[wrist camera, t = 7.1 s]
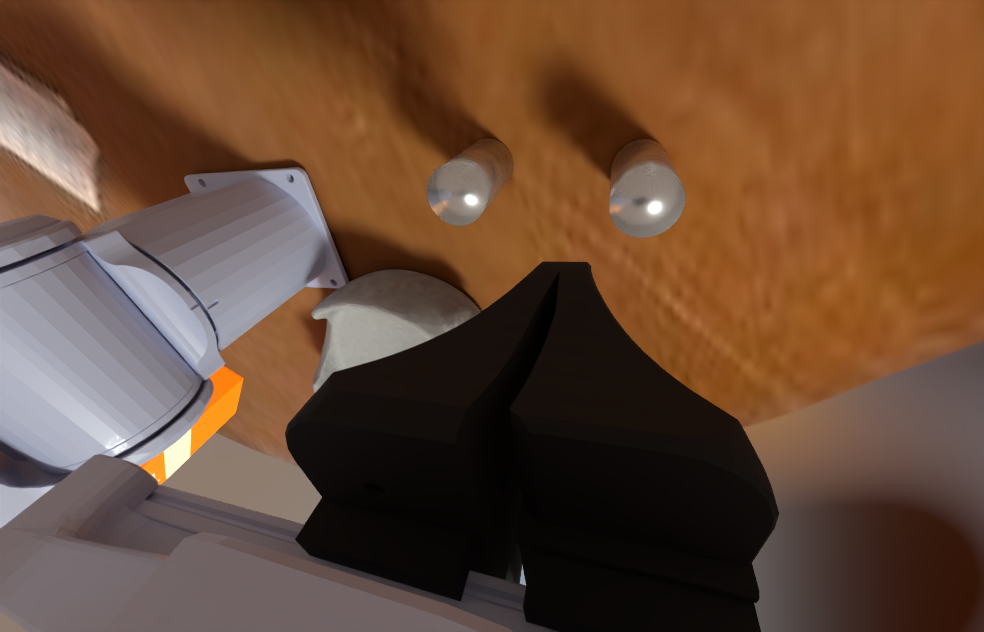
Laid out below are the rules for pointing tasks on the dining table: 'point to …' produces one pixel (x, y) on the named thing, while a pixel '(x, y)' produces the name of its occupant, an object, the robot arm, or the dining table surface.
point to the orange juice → (200, 425)
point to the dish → (385, 317)
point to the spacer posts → (633, 190)
